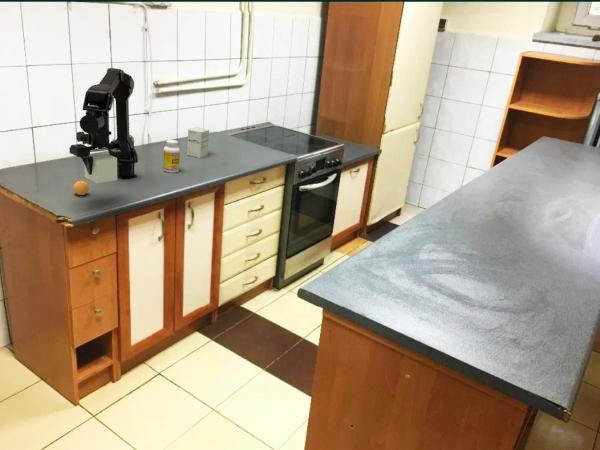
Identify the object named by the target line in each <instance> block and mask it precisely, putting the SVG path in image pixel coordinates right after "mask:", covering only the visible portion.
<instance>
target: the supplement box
mask: <svg viewBox="0 0 600 450" xmlns="http://www.w3.org/2000/svg"><path fill="white" fill-rule="evenodd" d="M209 141H210V129H206V128H201V127H199V126H194V127H191V128H188V129H187V148H186V149H187V150H186V155H187V156H189V157H190V156H191V157H195V158H198V159H201V158H204V157H207V156H208V155H209ZM206 155H207V156H206Z"/></svg>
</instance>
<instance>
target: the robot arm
mask: <svg viewBox="0 0 600 450" xmlns="http://www.w3.org/2000/svg"><path fill="white" fill-rule="evenodd" d="M134 89H135V81H134V79H133V77H132V76H131V75H130V74H128V73H126V72H125V71H124V70H122V69H121V68H113V67H109V68H107V70H106V73H105V74H104V75H103V77H102V78H101V80H100V81H99V82H98V83H97V84H93V85H92V84H91V86H90V87H89V88H88V89H87V90H86V91H85V94H84V100H83V104H82V111H85V115H84V116H82V117H81V118H80V119H79V127H80V129H81V130H82V131H77V132H76V141H77V142H78V144H77V143H76V144H71V145H70V146H69V154H70V155H72V156H75V157H78V158H80V159H81V160H82V162H83V165H84V164H85V165H84V167H85V166H86V169H87V171H88V174H89V175H91V174H92V163H93V157H92V156H90V154H91V153H94V152H105V151H107V153H108V154H109V155H111V156H114V157H116V158H117V178H120V179H121V180H126V179H132V178H137V176H138V175H137V174H135V164H136V163H139V157H138V156H139V154H138V152H137V150H136V148H135V141H134V142H133V141H132V139H131V138H130V136H129V135H130V110H129V109H130V107H129V100H130V97H131V96H132V95H133V92H134ZM114 100H115V117H116V118H115V120H116V121H115V122H116V123H115V124H116V138H115V139H114V140H115V141H113V140H111V141H110V135H112V131H111V130H110V114H109V112H110V111H111V110H112V108H113V104H114V103H113V102H114ZM79 142H81V143H79ZM86 144H87V146H86Z"/></svg>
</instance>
